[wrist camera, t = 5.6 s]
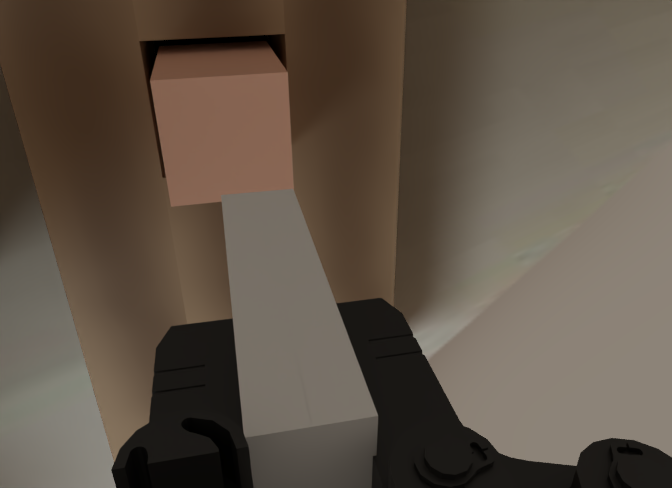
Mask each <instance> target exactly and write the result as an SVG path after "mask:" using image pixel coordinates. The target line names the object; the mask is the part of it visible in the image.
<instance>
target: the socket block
mask: <svg viewBox="0 0 672 488" xmlns="http://www.w3.org/2000/svg"><path fill="white" fill-rule="evenodd" d="M406 5H407V0H0V65H1V68H2V72H3V75H4V79H5V82H6V86H7V89H8V93H9V96H10V100H11V103H12V107H13V110H14V114H15V117H16V121H17V124H18V128H19V131H20V135H21V138H22V142H23V145H24V149H25V152H26V156H27V159H28V163H29V166H30V170H31V173H32V177H33V180H34V184H35V187H36V191H37V194H38V198H39V201H40V205H41V208H42V212H43V215H44V219H45V222H46V226H47V229H48V233H49V236H50V240H51V243H52V247H53V250H54V254H55V257H56V260H57V264H58V267H59V271H60V274H61V278H62V281H63V285H64V288H65V292H66V295H67V299H68V302H69V306H70V309H71V313H72V316H73V320H74V323H75V327H76V330H77V334H78V337H79V341H80V344H81V348H82V351H83V355H84V358H85V362H86V365H87V369H88V372H89V376H90V379H91V383H92V386H93V390H94V393H95V397H96V400H97V404H98V407H99V411H100V414H101V418H102V421H103V425H104V428H105V432H106V435H107V439H108V442H109V446H110V449H111V453H112V456H113V460H114V462H115V460H116V457H117V454H118V452H119V449H120V448H121V447H122V446H123V445H124V443H125V442H126V441H127V440H128V439H129V438H130V437H131V436H132V435H133V434H134V432H135V431H136V430H138V429H140V428H141V427H143V426H145V425H146V424H148V423H149V417H150V406H151V397H152V385H153V377H154V364H155V353H156V347H157V346H158V344H159V343H160V342H161V340H162V339H163V337H164V336H165V334H166V333H167V331H168V330H169V329H170V327H171V326H176V325H184V324H192V323H200V322H208V321H216V320H224V319H232V318H233V316H232V306H231V295H230V285H229V274H228V263H227V253H226V242H225V232H224V221H223V211H222V202H213V203H204V204H194V205H184V206H174V207H171V204H170V198H169V192H168V186H167V180H166V174H165V168H164V162H163V156H162V150H161V144H160V138H159V132H158V126H157V120H156V114H155V108H154V102H153V96H152V90H151V84H150V79H151V75H152V71H153V68H154V64H155V60H156V54H155V47H154V41H153V40H172V39H193V38H213V37H234V36H254V35H268V44H269V46H270V47H271V49H272V50H273V52H274V53H275V54H276V56H277V57H278V59H279V60H280V62H281V63H282V65H283V66H284V67H285V69H286V70H287V72H288V86H289V105H290V124H291V143H292V162H293V181H294V192H295V195H296V197H297V200H298V203H299V205H300V208H301V211H302V213H303V216H304V219H305V222H306V224H307V227H308V230H309V232H310V235H311V238H312V240H313V243H314V246H315V248H316V251H317V254H318V256H319V259H320V262H321V264H322V267H323V270H324V272H325V275H326V278H327V280H328V283H329V286H330V288H331V291H332V294H333V296H334V299H335V302H336V303H343V302H351V301H359V300H367V299H375V298H382V299H384V300H385V301H386V302H388V303H389V304H390V305H392V306H393V307H394V287H395V264H396V240H397V217H398V193H399V170H400V146H401V122H402V99H403V75H404V52H405V28H406Z"/></svg>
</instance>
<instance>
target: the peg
mask: <svg viewBox="0 0 672 488" xmlns="http://www.w3.org/2000/svg"><path fill="white" fill-rule="evenodd" d="M150 84H151V90H152V96H153V102H154V108H155V114H156V120H157V126H158V132H159V138H160V144H161V150H162V156H163V162H164V168H165V174H166V180H167V186H168V192H169V198H170V204H171V207H174V206H184V205H194V204H204V203H213V202H222V200H221V195H227V194H239V193H250V192H262V191H273V190H284V189H294V181H293V162H292V143H291V124H290V105H289V86H288V72H287V70H286V69H285V67H284V66H283V65H282V63H281V62H280V60H279V59H278V57H277V56H276V54H275V53H274V52H273V50H272V49H271V47H270V46H269V44H268V43H267V41H250V42H230V43H211V44H191V45H171V46H159V49H158V53H157V57H156V60H155V64H154V68H153V71H152V75H151V79H150Z"/></svg>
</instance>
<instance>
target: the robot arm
mask: <svg viewBox="0 0 672 488" xmlns="http://www.w3.org/2000/svg"><path fill="white" fill-rule="evenodd" d="M221 200H222V211H223V221H224V232H225V242H226V253H227V263H228V274H229V285H230V295H231V306H232V316H233V318H232V319H224V320H216V321H208V322H200V323H192V324H184V325H176V326H171V327H170V329H169V330H168V331H167V333H166V334H165V336H164V337H163V339H162V340H161V342H160V343H159V344H158V346H157V347H156V353H155V364H154V377H153V385H152V397H151V406H150V417H149V423H148V424H146V425H145V426H143V427H141V428H140V429H138V430H136V431H135V432H134V434H133V435H132V436H131V437H130V438H129V439H128V440H127V441H126V442H125V443H124V445H123V446H122V447H121V448H120V449H119V452H118V454H117V457H116V460H115V462H114V465H113V467H112V474H113V477H114V481H115V484H116V488H672V457H670V456H668V455H667V454H665V453H663V452H662V451H660V450H659V449H657V448H654V447H651V446H648V445H646V444H642V443H640V442H637V441H634V440H625V439H616V438H611V439H606V440H601V441H597V442H593V443H592V444H591V445H589V446H588V447H587V448H586V449H585V450H583V451H582V452H581V454H580V457H579V460H578V464H577V466H571V465H561V464H551V463H543V462H533V461H526V460H521V459H515V458H511V457H508V456H505V455H503V454H500V453H498V452H497V451H496V449H495V448H494V447H493V446H492V445H491V443H490V442H489V441H488V440H487V439H486V438H484V437H483V436H481V435H479V434H478V433H476V432H475V431H473V430H471V429H470V428H467V427H464V426H463V425H462V423H461V422H460V421H459V419H458V417H457V415H456V413H455V411H454V409H453V408H452V406H451V404H450V402H449V400H448V398H447V396H446V394H445V393H444V391H443V389H442V387H441V385H440V383H439V381H438V380H437V378H436V376H435V374H434V372H433V370H432V368H431V367H430V365H429V363H428V361H427V359H426V357H425V355H423V354H422V350H421V348H420V346H419V344H418V342H417V340H416V338H414V337H413V333H412V331H411V329H410V327H409V325H408V323H407V322H406V320H405V318H404V316H403V314H402V313H401V312H400V311H398V310H397V309H396V308H394V307H393V306H392V305H390V304H389V303H388V302H386V301H385V300H384V299H382V298H375V299H367V300H359V301H351V302H343V303H336V302H335V299H334V296H333V294H332V291H331V288H330V286H329V283H328V280H327V278H326V275H325V272H324V270H323V267H322V264H321V262H320V259H319V256H318V254H317V251H316V248H315V246H314V243H313V240H312V238H311V235H310V232H309V230H308V227H307V224H306V222H305V219H304V216H303V213H302V211H301V208H300V205H299V203H298V200H297V197H296V195H295V192H294V189H284V190H273V191H262V192H250V193H239V194H227V195H221Z"/></svg>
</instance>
